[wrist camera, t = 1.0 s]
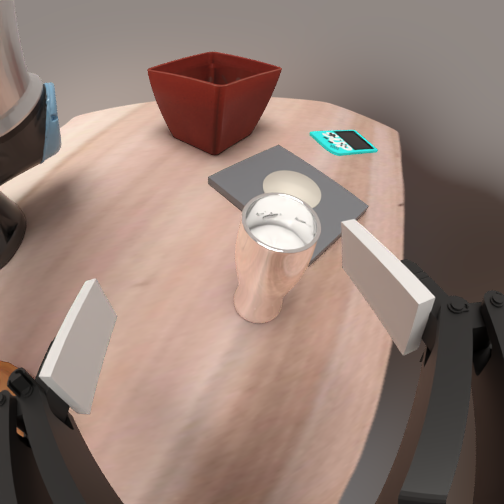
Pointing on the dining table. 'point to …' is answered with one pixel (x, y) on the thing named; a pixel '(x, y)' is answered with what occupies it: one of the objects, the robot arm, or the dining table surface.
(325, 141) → the handheld game console
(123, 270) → the dining table surface
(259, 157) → the serving board
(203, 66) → the plant pot
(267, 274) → the beer glass
